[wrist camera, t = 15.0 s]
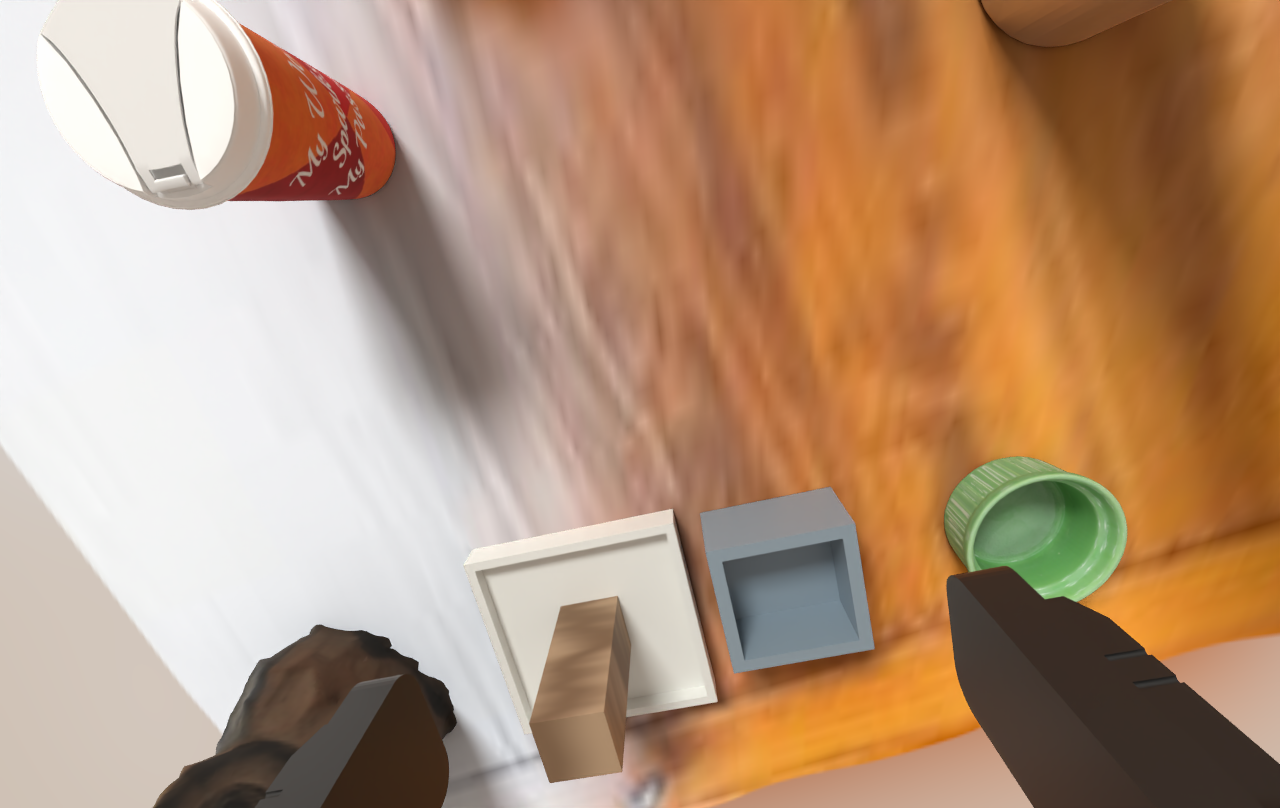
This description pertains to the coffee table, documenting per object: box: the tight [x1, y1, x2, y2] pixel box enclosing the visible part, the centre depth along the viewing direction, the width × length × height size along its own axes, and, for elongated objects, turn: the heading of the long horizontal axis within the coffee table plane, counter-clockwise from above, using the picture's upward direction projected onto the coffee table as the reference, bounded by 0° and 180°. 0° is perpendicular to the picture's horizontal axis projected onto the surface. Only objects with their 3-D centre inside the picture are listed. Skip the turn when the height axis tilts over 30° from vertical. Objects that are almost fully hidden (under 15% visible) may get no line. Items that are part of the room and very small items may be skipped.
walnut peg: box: [529, 596, 631, 783], centre depth 36 cm, size 4×4×10 cm
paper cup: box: [37, 0, 396, 210], centre depth 26 cm, size 8×8×14 cm
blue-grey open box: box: [700, 487, 875, 673], centre depth 37 cm, size 9×9×5 cm
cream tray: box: [463, 509, 718, 734], centre depth 40 cm, size 14×14×2 cm
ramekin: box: [944, 456, 1127, 602], centre depth 36 cm, size 9×9×4 cm
